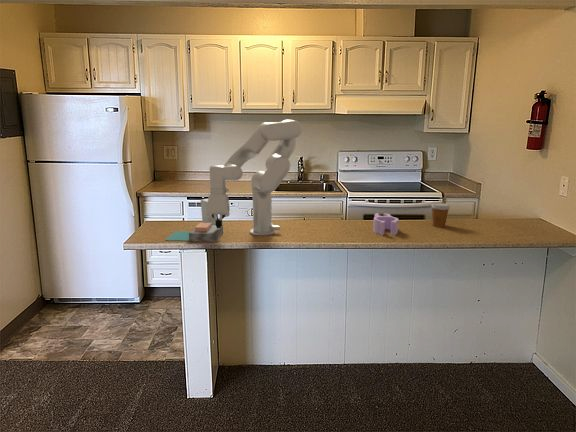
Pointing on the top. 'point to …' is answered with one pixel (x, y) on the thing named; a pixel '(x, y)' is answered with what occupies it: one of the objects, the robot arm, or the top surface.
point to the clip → (385, 224)
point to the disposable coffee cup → (439, 214)
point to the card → (203, 227)
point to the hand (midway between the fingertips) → (218, 227)
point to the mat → (179, 236)
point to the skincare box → (206, 213)
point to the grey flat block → (206, 234)
